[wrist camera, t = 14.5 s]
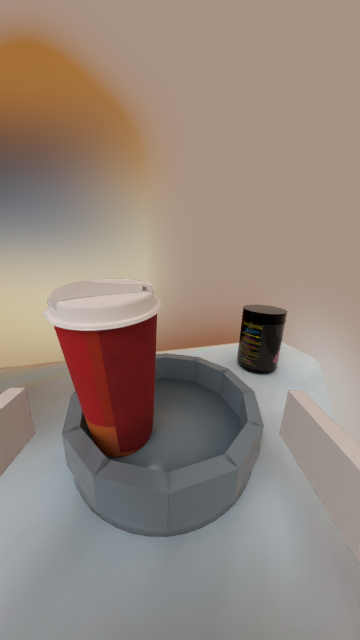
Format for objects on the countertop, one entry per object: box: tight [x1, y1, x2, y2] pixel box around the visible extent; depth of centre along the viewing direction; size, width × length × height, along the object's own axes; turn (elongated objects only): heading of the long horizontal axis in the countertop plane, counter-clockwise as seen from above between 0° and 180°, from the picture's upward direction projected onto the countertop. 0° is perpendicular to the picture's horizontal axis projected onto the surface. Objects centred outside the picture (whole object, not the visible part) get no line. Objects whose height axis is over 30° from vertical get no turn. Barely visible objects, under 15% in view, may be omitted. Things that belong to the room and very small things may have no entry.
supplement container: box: [237, 305, 287, 374], centre depth 35 cm, size 7×7×10 cm
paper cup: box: [43, 278, 161, 458], centre depth 17 cm, size 8×8×14 cm
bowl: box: [62, 354, 264, 537], centre depth 21 cm, size 18×18×4 cm
